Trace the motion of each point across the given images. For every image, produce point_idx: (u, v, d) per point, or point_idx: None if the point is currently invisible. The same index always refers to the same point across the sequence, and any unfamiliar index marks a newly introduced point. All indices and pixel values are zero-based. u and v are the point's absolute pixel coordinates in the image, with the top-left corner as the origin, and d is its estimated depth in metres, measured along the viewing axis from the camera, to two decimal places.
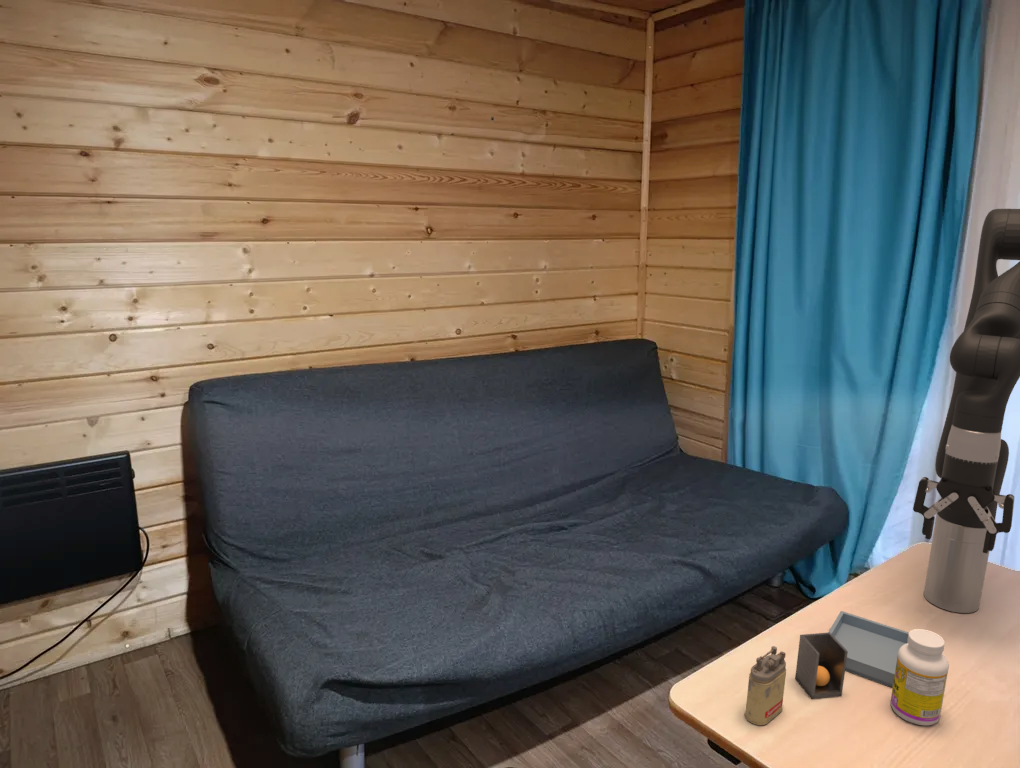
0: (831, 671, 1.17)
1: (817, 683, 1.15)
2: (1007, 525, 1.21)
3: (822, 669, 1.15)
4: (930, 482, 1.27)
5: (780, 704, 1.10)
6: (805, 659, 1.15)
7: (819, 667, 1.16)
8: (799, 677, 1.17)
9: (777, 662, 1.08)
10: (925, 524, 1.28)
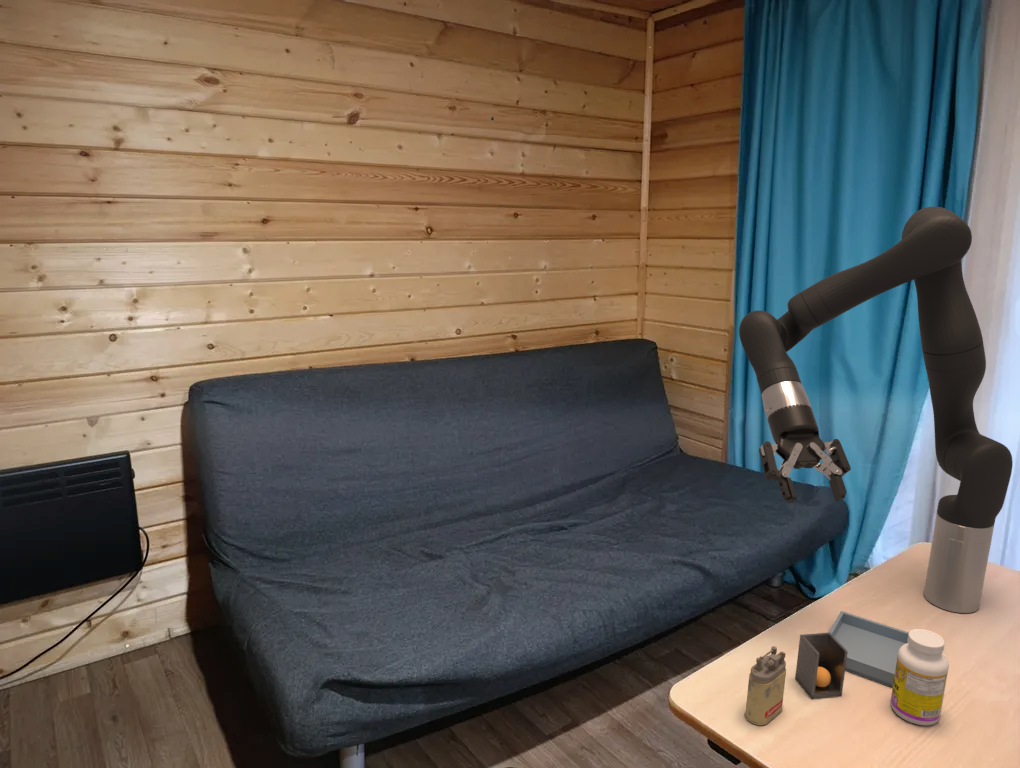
0: (831, 671, 1.17)
1: (817, 685, 1.15)
2: None
3: (824, 672, 1.15)
4: None
5: (780, 704, 1.10)
6: (805, 659, 1.15)
7: (821, 669, 1.15)
8: (799, 677, 1.17)
9: (777, 662, 1.08)
10: None
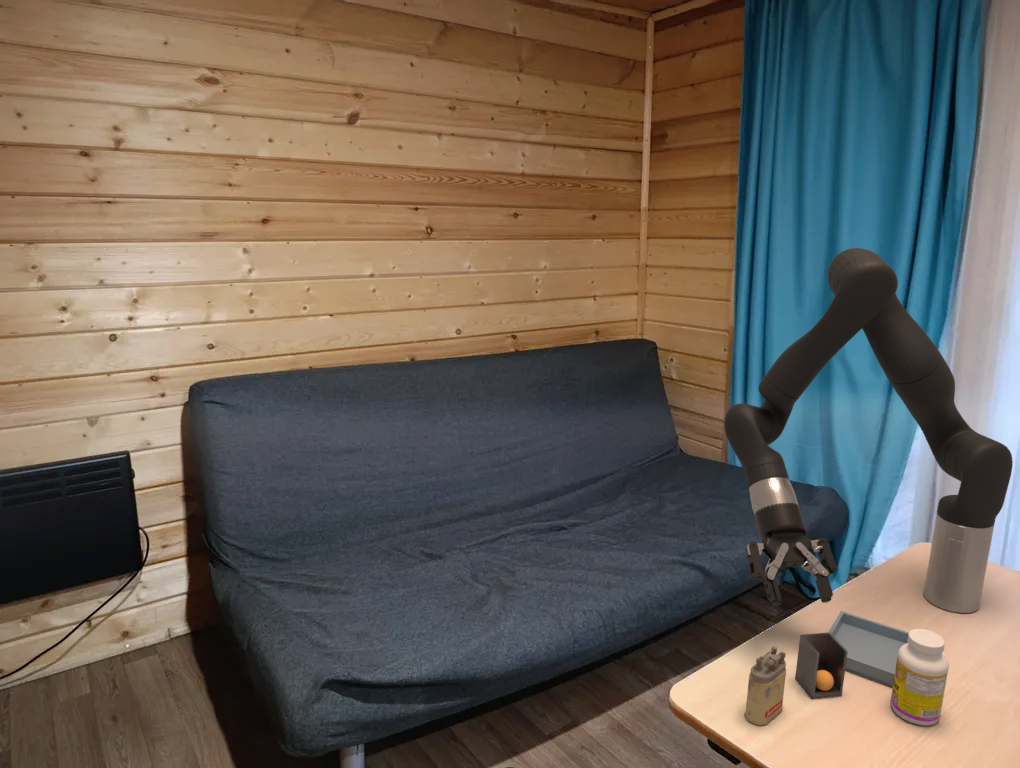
0: (831, 671, 1.17)
1: (818, 688, 1.15)
2: None
3: (829, 681, 1.14)
4: None
5: (780, 704, 1.10)
6: (805, 659, 1.15)
7: (826, 677, 1.14)
8: (799, 677, 1.17)
9: (777, 662, 1.08)
10: None
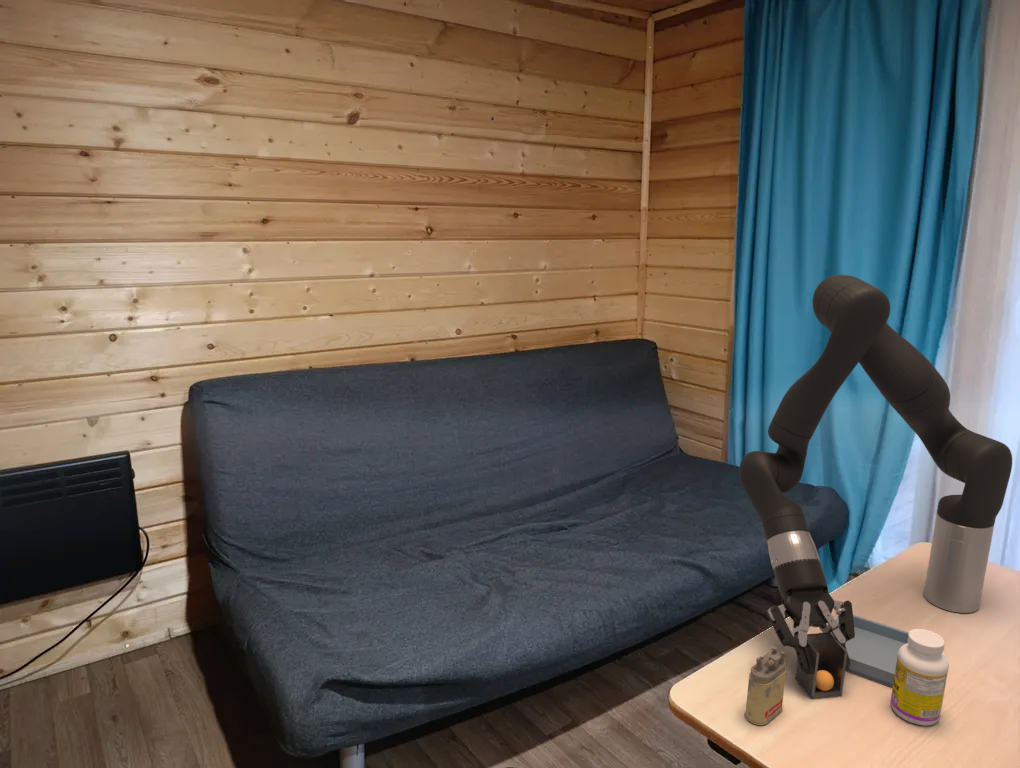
0: (831, 671, 1.17)
1: (818, 688, 1.15)
2: None
3: (829, 681, 1.14)
4: None
5: (780, 704, 1.10)
6: None
7: (826, 678, 1.14)
8: (799, 677, 1.17)
9: (777, 662, 1.08)
10: None
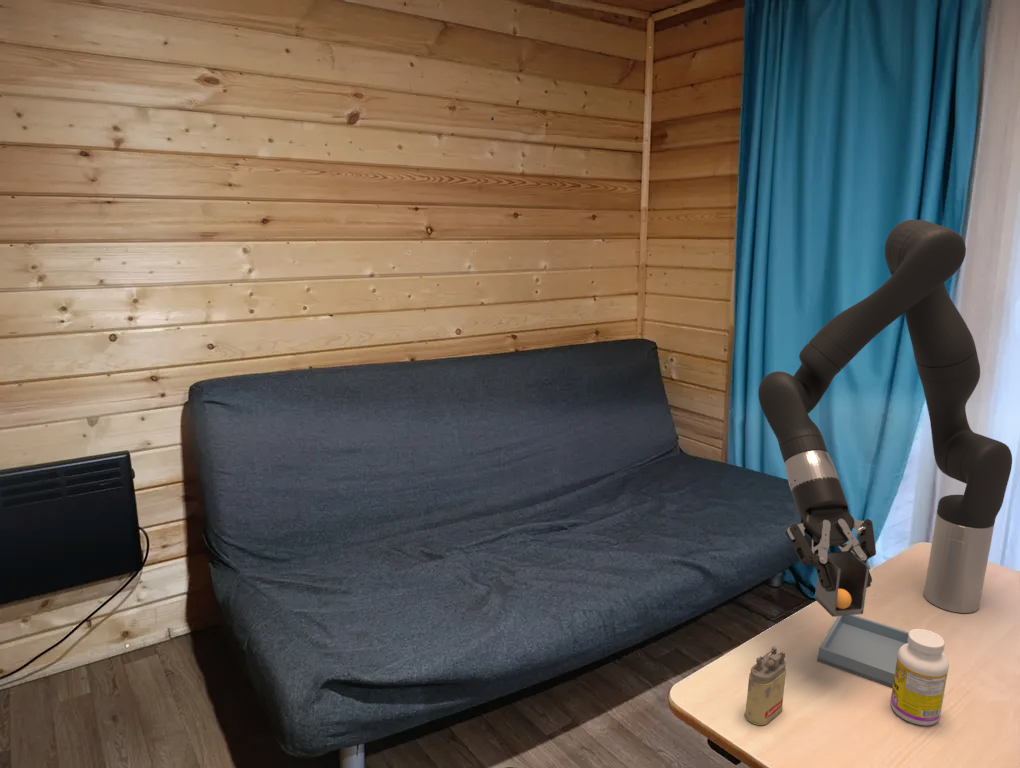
0: (852, 590, 1.14)
1: None
2: None
3: (845, 599, 1.11)
4: None
5: (780, 704, 1.10)
6: None
7: (841, 596, 1.11)
8: (819, 597, 1.15)
9: (777, 662, 1.08)
10: None
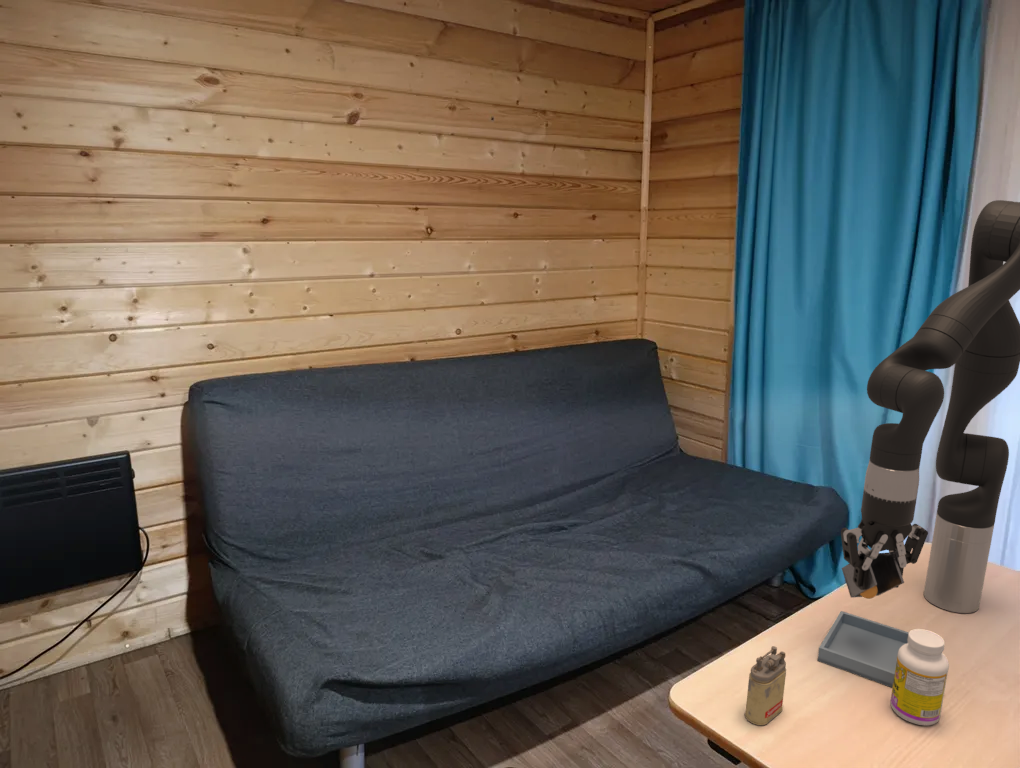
0: (878, 575, 1.24)
1: None
2: None
3: None
4: None
5: (780, 704, 1.10)
6: None
7: (869, 597, 1.21)
8: (846, 573, 1.25)
9: (777, 662, 1.08)
10: None
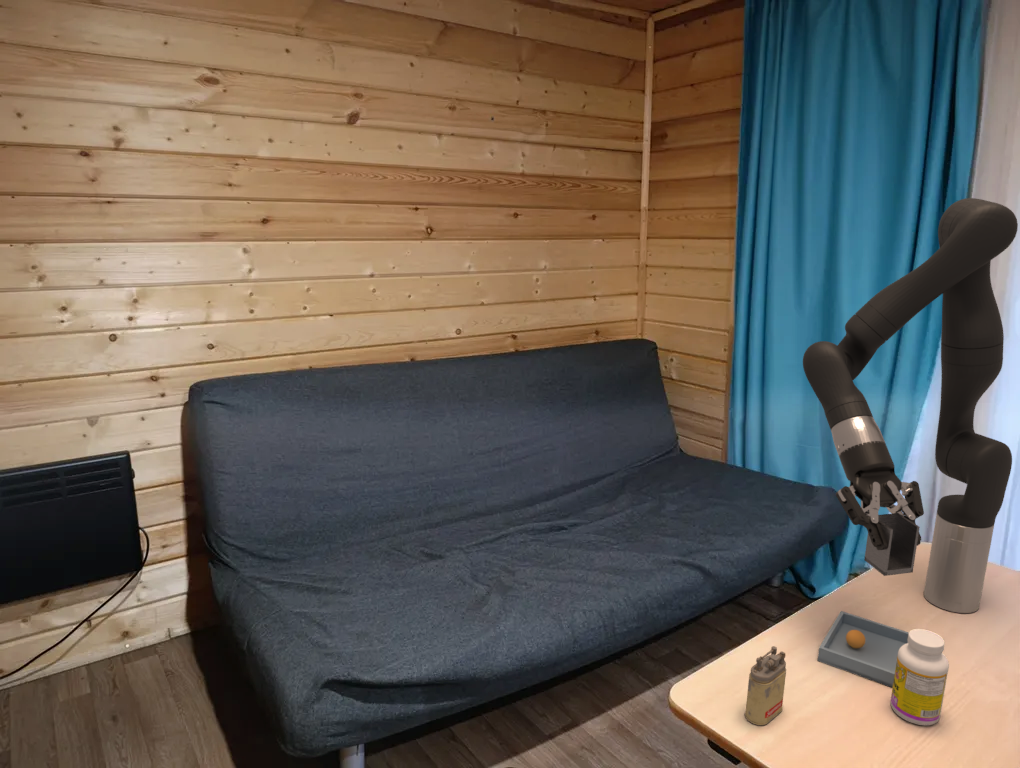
0: (900, 550, 1.19)
1: None
2: None
3: None
4: None
5: (780, 704, 1.10)
6: None
7: (856, 647, 1.25)
8: (869, 557, 1.20)
9: (777, 662, 1.08)
10: None
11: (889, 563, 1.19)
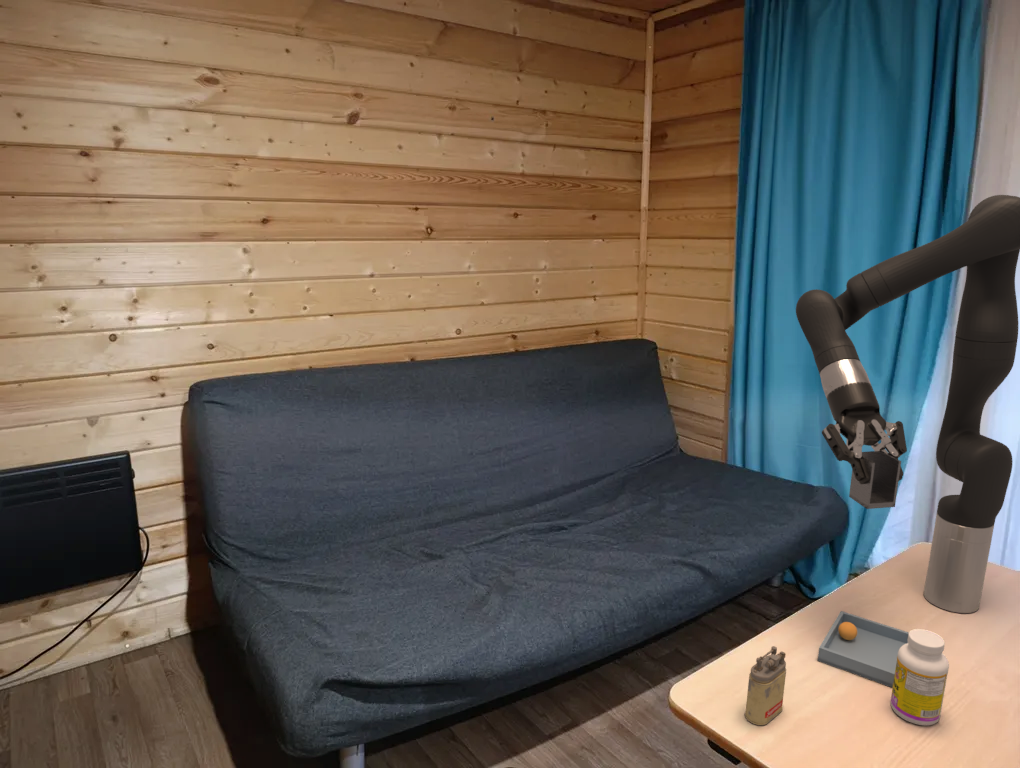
0: (884, 486, 1.23)
1: None
2: None
3: (853, 631, 1.27)
4: None
5: (780, 704, 1.10)
6: None
7: (851, 628, 1.27)
8: (853, 493, 1.24)
9: (777, 662, 1.08)
10: None
11: (872, 498, 1.23)
